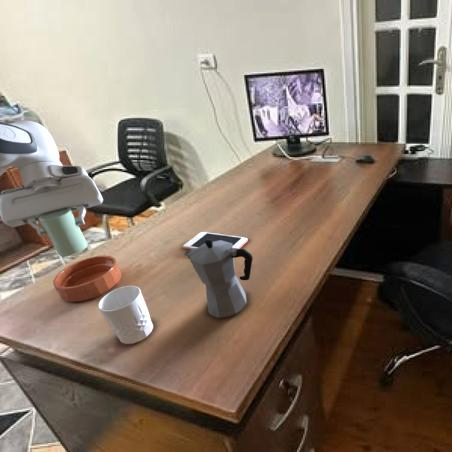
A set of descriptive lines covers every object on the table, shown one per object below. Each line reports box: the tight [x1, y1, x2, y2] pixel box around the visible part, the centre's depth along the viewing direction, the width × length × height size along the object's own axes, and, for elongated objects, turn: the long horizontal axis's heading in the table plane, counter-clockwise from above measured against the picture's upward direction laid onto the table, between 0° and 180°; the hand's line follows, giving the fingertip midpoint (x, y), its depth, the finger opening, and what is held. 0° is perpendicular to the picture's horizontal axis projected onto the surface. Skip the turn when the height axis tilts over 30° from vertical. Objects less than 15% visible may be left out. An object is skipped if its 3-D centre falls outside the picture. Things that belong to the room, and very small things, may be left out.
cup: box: [39, 208, 89, 257], centre depth 86 cm, size 6×6×10 cm
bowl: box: [52, 254, 123, 303], centre depth 93 cm, size 14×14×5 cm
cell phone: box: [182, 231, 249, 250], centre depth 107 cm, size 9×18×1 cm, turn 69°
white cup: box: [97, 285, 154, 345], centre depth 75 cm, size 8×8×10 cm
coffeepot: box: [183, 239, 254, 319], centre depth 78 cm, size 15×9×18 cm, turn 83°
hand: (62, 229), depth 85 cm, fingers closed on cup, 6 cm apart
